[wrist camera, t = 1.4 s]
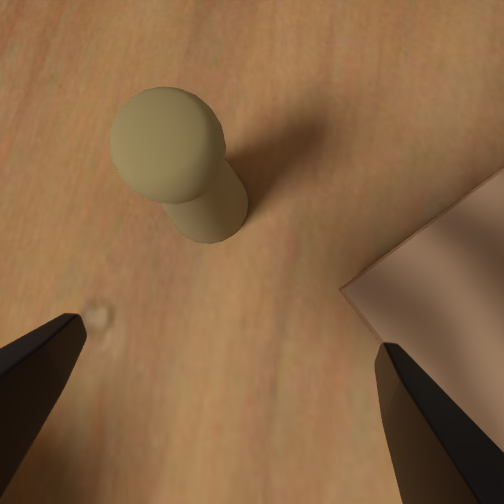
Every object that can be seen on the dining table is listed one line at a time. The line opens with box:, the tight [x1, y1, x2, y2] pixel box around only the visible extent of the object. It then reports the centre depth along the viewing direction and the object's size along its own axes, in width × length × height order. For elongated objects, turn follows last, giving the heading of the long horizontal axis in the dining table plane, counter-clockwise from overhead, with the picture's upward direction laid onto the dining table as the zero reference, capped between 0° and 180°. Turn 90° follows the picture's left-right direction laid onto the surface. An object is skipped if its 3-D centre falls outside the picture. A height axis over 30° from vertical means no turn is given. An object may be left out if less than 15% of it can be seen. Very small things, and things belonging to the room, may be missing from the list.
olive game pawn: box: [109, 87, 249, 244], centre depth 18 cm, size 6×6×11 cm
